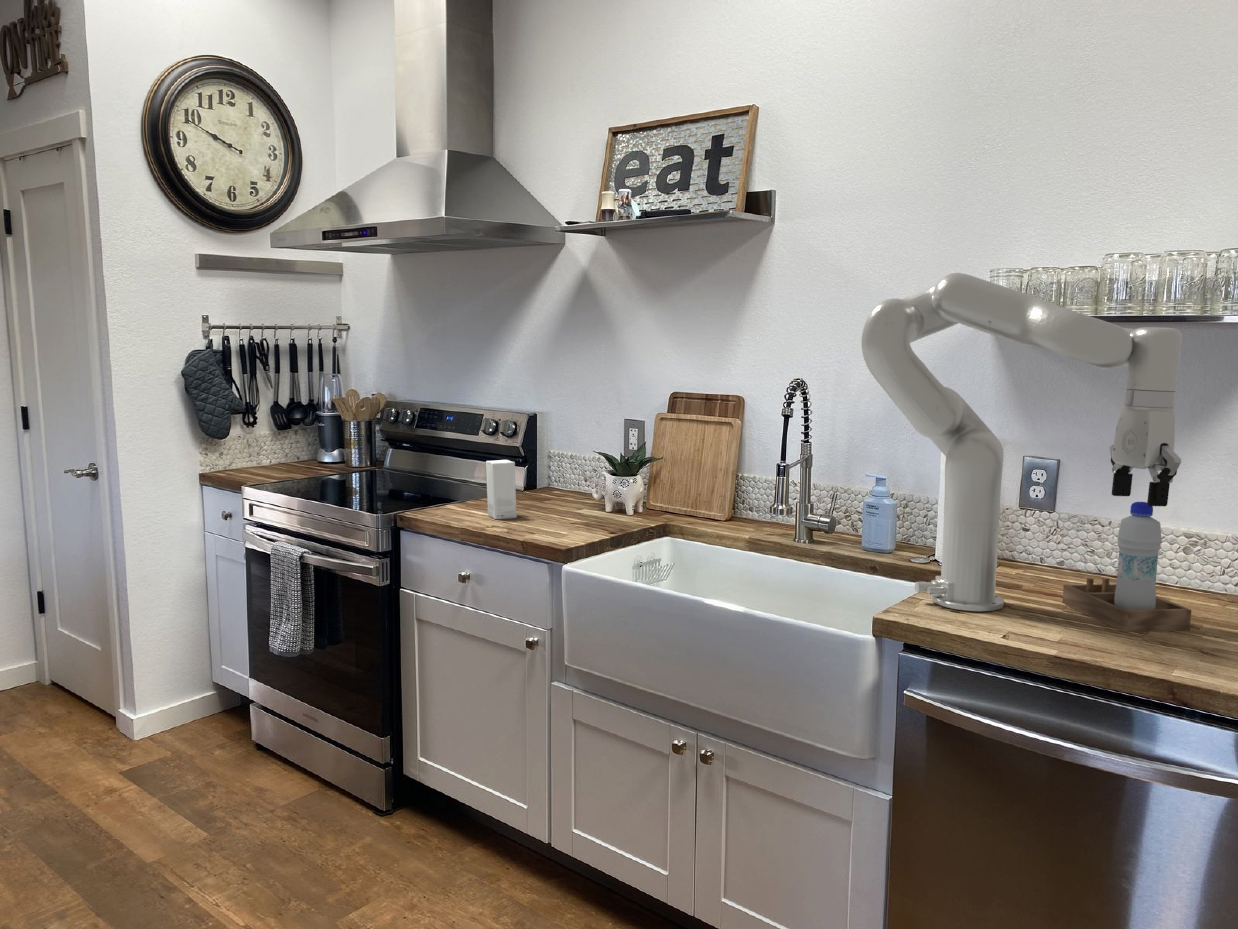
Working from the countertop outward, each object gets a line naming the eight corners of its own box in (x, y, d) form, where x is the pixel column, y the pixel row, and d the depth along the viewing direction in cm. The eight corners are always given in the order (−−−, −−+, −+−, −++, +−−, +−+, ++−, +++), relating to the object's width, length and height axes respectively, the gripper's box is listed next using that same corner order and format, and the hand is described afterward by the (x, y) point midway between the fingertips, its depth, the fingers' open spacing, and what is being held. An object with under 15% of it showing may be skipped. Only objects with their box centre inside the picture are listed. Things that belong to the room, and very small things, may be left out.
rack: (1122, 631, 157) (1124, 600, 156) (1062, 602, 175) (1064, 574, 174) (1189, 630, 158) (1192, 599, 157) (1123, 601, 176) (1125, 573, 175)
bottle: (1116, 608, 168) (1124, 497, 165) (1159, 614, 164) (1168, 501, 161) (1107, 616, 163) (1116, 502, 160) (1151, 623, 158) (1160, 506, 156)
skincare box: (516, 518, 257) (516, 462, 256) (493, 520, 255) (492, 463, 253) (508, 513, 265) (508, 458, 263) (485, 515, 263) (485, 459, 261)
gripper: (1098, 397, 167) (1088, 492, 169) (1162, 404, 150) (1150, 509, 152) (1137, 398, 168) (1127, 492, 170) (1206, 405, 151) (1193, 510, 153)
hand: (1138, 500), depth 161 cm, fingers open, 9 cm apart
